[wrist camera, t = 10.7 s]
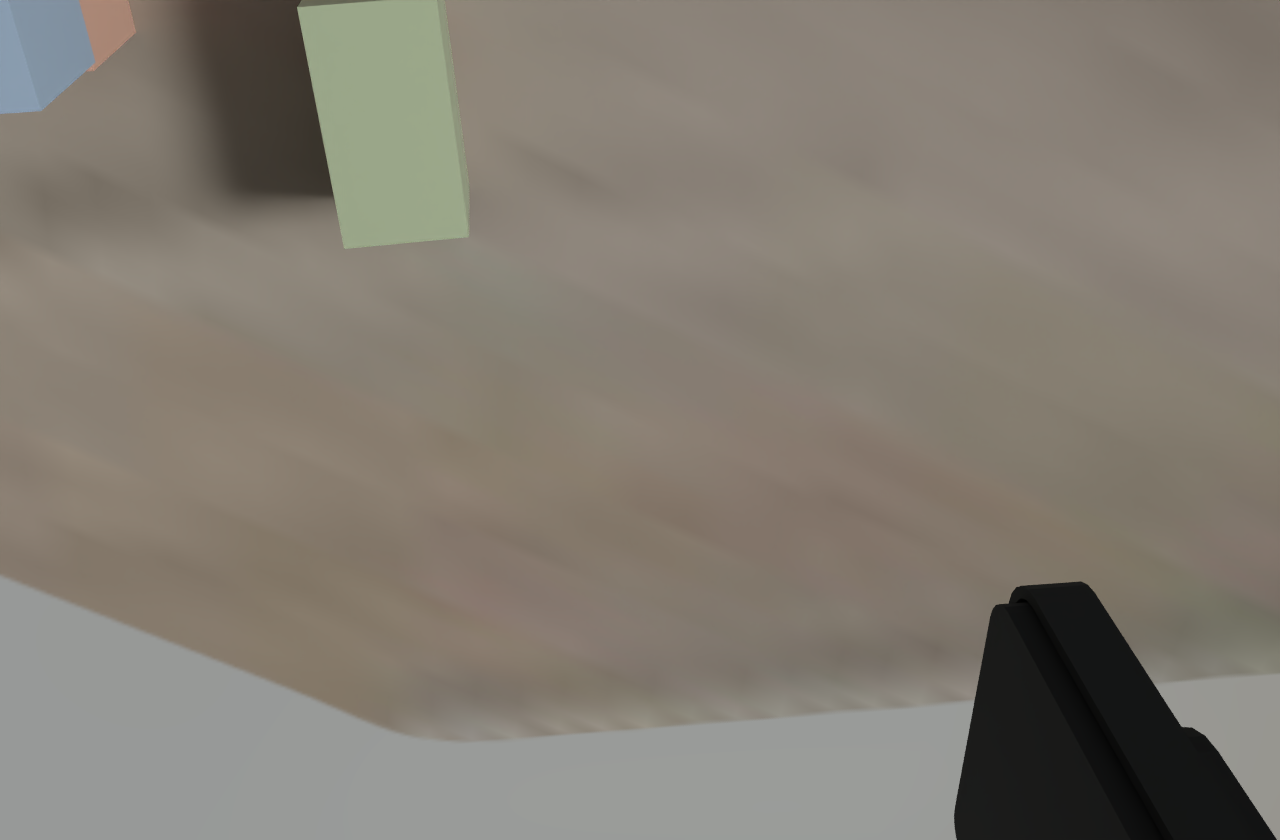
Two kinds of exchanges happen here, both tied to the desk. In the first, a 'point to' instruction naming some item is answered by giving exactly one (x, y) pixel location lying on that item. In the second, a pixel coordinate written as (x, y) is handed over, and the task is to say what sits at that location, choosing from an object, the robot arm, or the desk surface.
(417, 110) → the olive brick
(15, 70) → the blue brick
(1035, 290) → the desk surface
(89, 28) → the terracotta brick
